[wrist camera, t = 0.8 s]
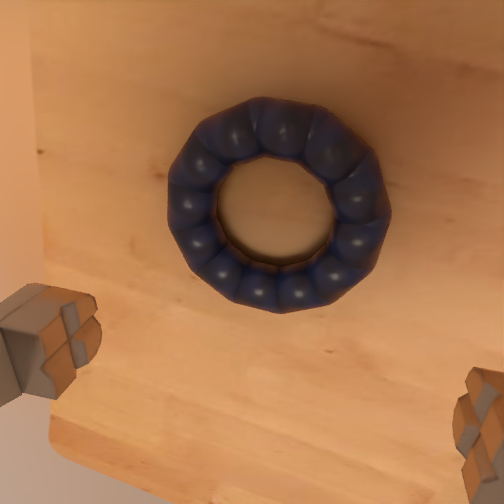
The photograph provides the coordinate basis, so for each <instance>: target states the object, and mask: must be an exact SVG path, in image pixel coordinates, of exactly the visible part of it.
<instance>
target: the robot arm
mask: <svg viewBox="0 0 504 504" xmlns="http://www.w3.org/2000/svg"><path fill="white" fill-rule="evenodd" d="M97 310H98V308H97V304H96V300H95V297H93V296H92V295H90V294H87V293H83V292H78V291H73V290H69V289H64V288H59V287H55V286H53V287H52V286H48V285H44V284H39V283H31V284H27V285H26V286H24V287H23V288H21V289H20V290H18V291H17V292H15V293H14V294H12V295H11V296H9V297H8V298H7V299H5V300H4V301H2V302H1V303H0V407H1V406H2V405H5V404H6V403H8V402H10V401H12V400H14V399H15V398H17V397H19V396H21V395H22V393H27V394H31V395H36V396H40V397H45V398H49V399H54V400H57V399H58V398H59V397H60V395H61V394H62V393H63V392H64V391H65V390H66V389H67V387H68V386H69V385H70V384H71V383H72V382H73V381H74V380H75V378H76V369H78V368H80V367H82V366H84V365H86V364H89V362H90V361H91V360H92V359H93V358H94V356H95V355H96V354H97V351H98V349H99V347H100V344H101V339H102V330H101V324H100V323H99V322H98V321H97V320H96V318H95V317H94V314H95V313H96V311H97ZM465 383H466V386H467V390H468V393H467V394H465V395H463V396H461V397H460V398H458V401H457V403H456V406H455V409H454V414H453V424H452V426H453V437H454V441H455V446H456V449H457V450H458V451H459V452H460V453H461V454H462V455H463V456H464V458H465V459H466V461H465V463H464V465H463V467H462V470H461V471H462V475H463V479H464V484H465V488H466V492H467V496H468V500H469V504H504V372H500V371H495V370H489V369H484V368H478V367H473V368H472V369H471V370H470V372H469V374H468V376H467V378H466V381H465Z"/></svg>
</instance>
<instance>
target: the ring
mask: <svg viewBox="0 0 504 504" xmlns="http://www.w3.org/2000/svg"><path fill="white" fill-rule="evenodd" d="M261 157H267V158H272V159H278V160H283V161H288V162H293V163H298V164H299V165H300V166H301V167H302V168H304V169H305V170H306V171H307V172H308V173H309V174H311V175H312V176H313V177H314V178H315V179H316V180H318V181H319V182H320V183H321V184H322V185H323V186H324V187H325V190H326V193H327V196H328V199H329V202H330V205H331V208H332V211H333V214H334V218H333V222H332V226H331V230H330V234H329V238H328V242H327V243H326V244H325V245H324V246H323V247H322V248H321V249H320V250H319V251H318V252H316V253H315V254H314V255H313V256H312V257H311V258H310V259H309V260H308V261H304V262H299V263H295V264H291V265H287V266H283V267H279V266H274V265H270V264H266V263H262V262H257V261H253V260H251V259H249V258H248V257H247V256H246V255H244V254H243V253H242V252H241V251H239V250H238V249H237V248H236V247H234V246H233V245H232V244H231V243H229V242H228V240H227V238H226V236H225V234H224V232H223V229H222V227H221V225H220V223H219V221H218V218H217V216H216V211H217V199H218V188H219V187H220V186H221V185H222V183H223V182H224V181H225V179H226V178H227V177H228V175H229V174H230V173H231V171H232V170H233V169H234V167H237V166H239V165H242V164H245V163H248V162H250V161H253V160H256V159H259V158H261ZM391 212H392V211H391V206H390V202H389V198H388V195H387V191H386V188H385V184H384V180H383V177H382V173H381V169H380V166H379V162H378V159H377V156H376V154H375V153H374V151H373V150H372V148H370V146H368V145H367V144H366V143H365V142H364V141H363V140H362V139H361V138H359V137H358V136H357V135H356V134H355V133H354V132H353V131H352V130H350V129H349V128H348V127H347V126H346V125H345V124H344V123H343V122H342V121H340V120H339V119H338V118H337V117H336V116H335V115H334V114H333V113H331V112H330V111H329V110H327V109H326V108H324V107H321V106H317V105H311V104H306V103H300V102H294V101H288V100H282V99H276V98H270V97H255V98H252V99H249V100H247V101H245V102H242V103H240V104H238V105H235V106H233V107H231V108H228V109H226V110H224V111H221V112H219V113H217V114H215V115H212V116H210V117H208V118H206V119H204V120H202V121H201V122H200V123H199V124H198V125H197V126H196V128H195V129H194V131H193V132H192V134H191V135H190V137H189V138H188V140H187V142H186V143H185V145H184V146H183V148H182V149H181V151H180V152H179V154H178V156H177V157H176V159H175V160H174V162H173V163H172V165H171V167H170V169H169V173H168V210H167V220H168V226H169V229H170V231H171V233H172V235H173V237H174V239H175V241H176V242H177V244H178V246H179V248H180V250H181V252H182V254H183V256H184V258H185V260H186V262H187V264H188V266H189V267H190V269H191V270H192V271H193V272H194V273H195V274H196V275H197V276H198V277H200V278H201V279H202V280H204V281H205V282H206V283H207V284H209V285H210V286H211V287H212V288H214V289H215V290H216V291H218V292H219V293H220V294H221V295H223V296H224V297H225V298H227V299H228V300H230V301H231V302H234V303H237V304H241V305H245V306H249V307H253V308H257V309H261V310H265V311H268V312H272V313H277V314H285V313H290V312H296V311H301V310H306V309H312V308H317V307H322V306H327V305H330V304H332V303H334V302H335V301H337V300H338V299H339V298H340V297H342V296H343V295H344V294H345V293H346V292H348V291H349V290H350V289H351V288H353V287H354V286H355V285H356V284H358V283H359V282H360V281H361V280H362V279H364V278H365V277H366V276H367V275H369V274H370V273H371V272H372V270H373V269H374V267H375V265H376V263H377V260H378V257H379V254H380V251H381V248H382V245H383V242H384V239H385V236H386V233H387V230H388V227H389V224H390V220H391Z"/></svg>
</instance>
